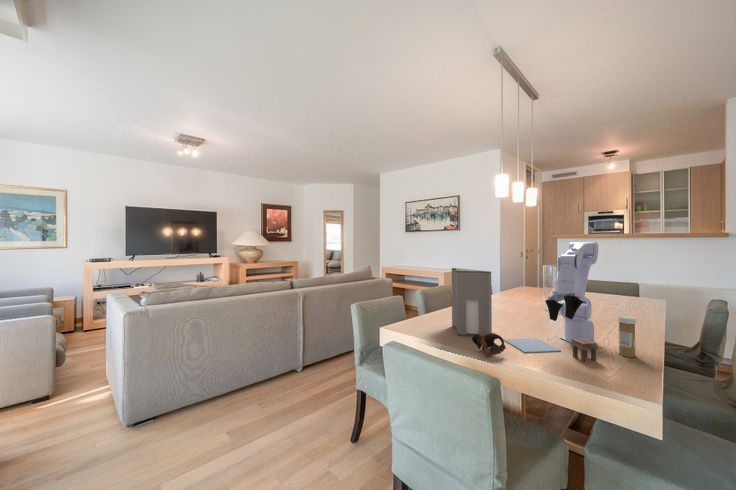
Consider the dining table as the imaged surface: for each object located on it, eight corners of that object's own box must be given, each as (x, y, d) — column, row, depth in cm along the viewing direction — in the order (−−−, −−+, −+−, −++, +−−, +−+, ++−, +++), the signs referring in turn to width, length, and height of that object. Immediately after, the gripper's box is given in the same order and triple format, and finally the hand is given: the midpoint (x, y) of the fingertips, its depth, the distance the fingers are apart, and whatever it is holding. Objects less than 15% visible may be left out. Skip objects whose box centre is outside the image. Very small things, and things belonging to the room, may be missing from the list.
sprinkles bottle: (639, 356, 103) (639, 318, 102) (629, 358, 102) (628, 319, 101) (625, 352, 107) (625, 315, 107) (615, 353, 106) (615, 315, 106)
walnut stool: (585, 355, 105) (585, 338, 104) (597, 361, 100) (597, 343, 99) (571, 356, 104) (571, 338, 104) (583, 361, 99) (583, 343, 99)
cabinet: (491, 338, 125) (491, 271, 124) (476, 342, 120) (475, 272, 119) (454, 326, 143) (454, 267, 142) (439, 329, 138) (438, 269, 138)
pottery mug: (506, 352, 110) (510, 336, 106) (498, 370, 104) (501, 355, 100) (474, 338, 117) (476, 323, 113) (465, 354, 111) (466, 339, 106)
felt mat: (536, 339, 122) (536, 338, 122) (561, 351, 109) (561, 350, 109) (503, 340, 121) (503, 339, 121) (524, 353, 107) (524, 351, 107)
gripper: (542, 283, 116) (536, 316, 112) (570, 275, 103) (565, 312, 98) (558, 290, 116) (553, 323, 112) (589, 283, 103) (585, 320, 98)
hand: (560, 319), depth 105 cm, fingers open, 7 cm apart
